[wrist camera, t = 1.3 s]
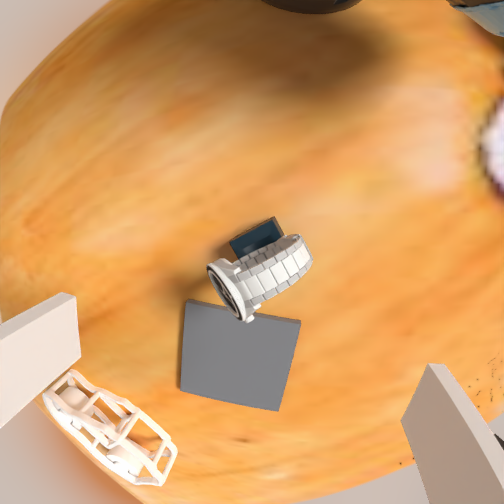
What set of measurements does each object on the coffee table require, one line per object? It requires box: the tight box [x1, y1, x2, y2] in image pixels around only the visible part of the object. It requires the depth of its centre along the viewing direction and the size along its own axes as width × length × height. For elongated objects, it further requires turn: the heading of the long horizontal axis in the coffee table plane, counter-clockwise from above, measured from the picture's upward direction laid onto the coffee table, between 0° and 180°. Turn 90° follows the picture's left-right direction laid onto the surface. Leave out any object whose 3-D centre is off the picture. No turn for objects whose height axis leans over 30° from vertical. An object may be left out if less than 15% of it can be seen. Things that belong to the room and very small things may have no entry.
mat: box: [180, 299, 301, 411], centre depth 33 cm, size 12×12×1 cm
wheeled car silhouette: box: [42, 369, 178, 486], centre depth 35 cm, size 20×11×7 cm, turn 42°
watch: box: [206, 217, 313, 323], centre depth 25 cm, size 6×8×11 cm
